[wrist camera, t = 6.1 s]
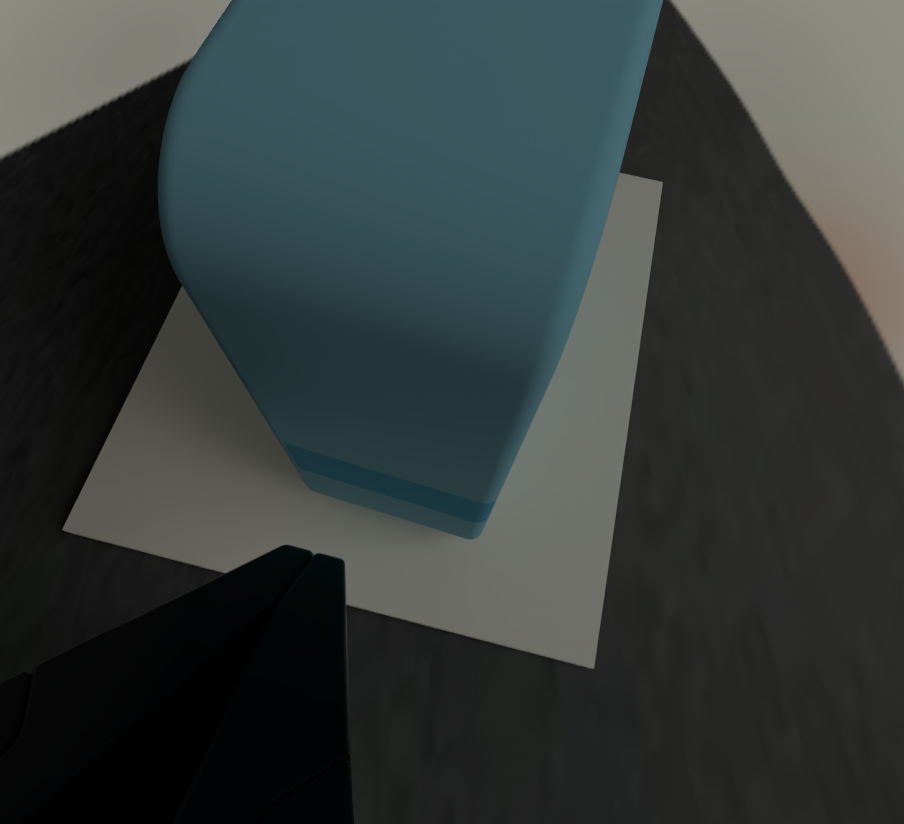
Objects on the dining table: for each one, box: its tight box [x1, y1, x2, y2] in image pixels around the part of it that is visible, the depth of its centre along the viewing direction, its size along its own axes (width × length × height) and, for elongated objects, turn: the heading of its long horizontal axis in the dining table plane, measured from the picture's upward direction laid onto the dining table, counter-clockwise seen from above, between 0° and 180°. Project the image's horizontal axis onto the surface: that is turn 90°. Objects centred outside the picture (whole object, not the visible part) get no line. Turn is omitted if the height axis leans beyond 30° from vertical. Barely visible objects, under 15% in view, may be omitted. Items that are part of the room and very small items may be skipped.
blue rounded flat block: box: [158, 0, 663, 540], centre depth 13 cm, size 12×4×12 cm, turn 163°
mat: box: [62, 173, 663, 669], centre depth 19 cm, size 16×14×1 cm
